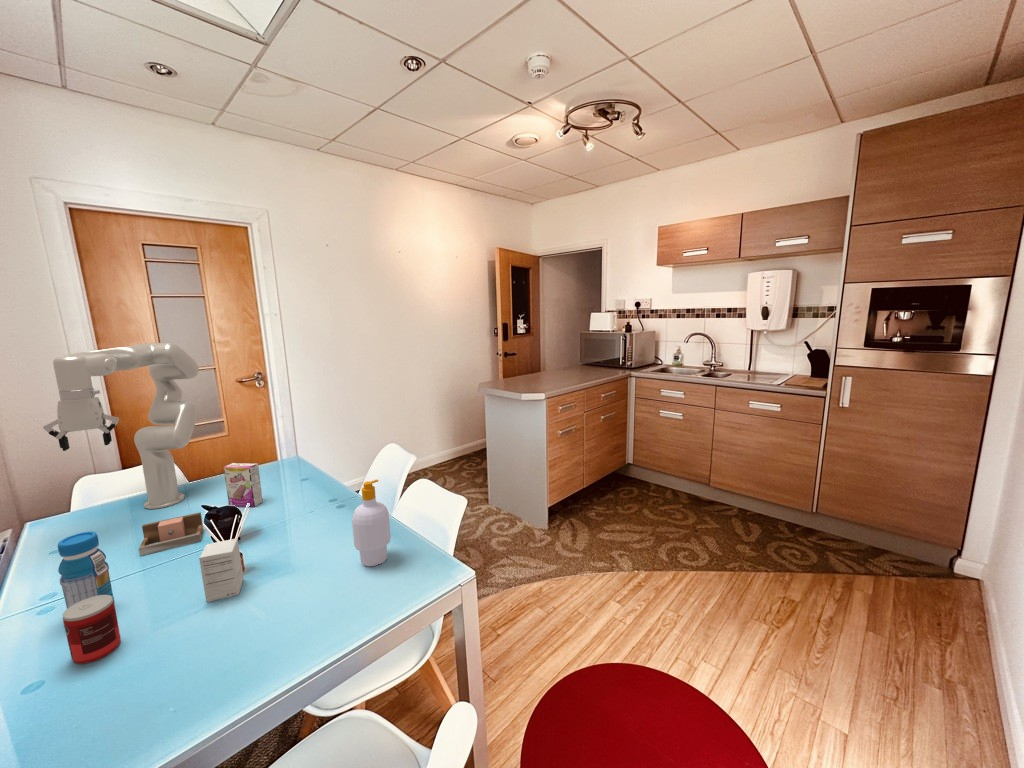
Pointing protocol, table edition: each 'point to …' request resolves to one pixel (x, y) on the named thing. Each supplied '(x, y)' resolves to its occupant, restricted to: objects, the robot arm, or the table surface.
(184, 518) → the board
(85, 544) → the beverage bottle
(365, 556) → the soap bottle
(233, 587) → the supplement box
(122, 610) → the table surface
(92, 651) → the canned food
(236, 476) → the candy bar box
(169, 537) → the salmon pink block
